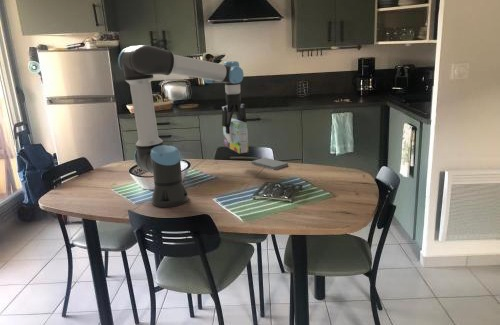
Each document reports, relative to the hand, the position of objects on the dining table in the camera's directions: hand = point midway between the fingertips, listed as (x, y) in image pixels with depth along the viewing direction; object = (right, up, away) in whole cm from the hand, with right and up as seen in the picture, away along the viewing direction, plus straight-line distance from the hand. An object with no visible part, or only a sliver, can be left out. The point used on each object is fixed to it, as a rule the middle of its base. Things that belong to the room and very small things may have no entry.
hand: (235, 138), depth 205 cm
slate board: (+18, -14, +14) cm, 26 cm away
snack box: (0, -6, +1) cm, 6 cm away
